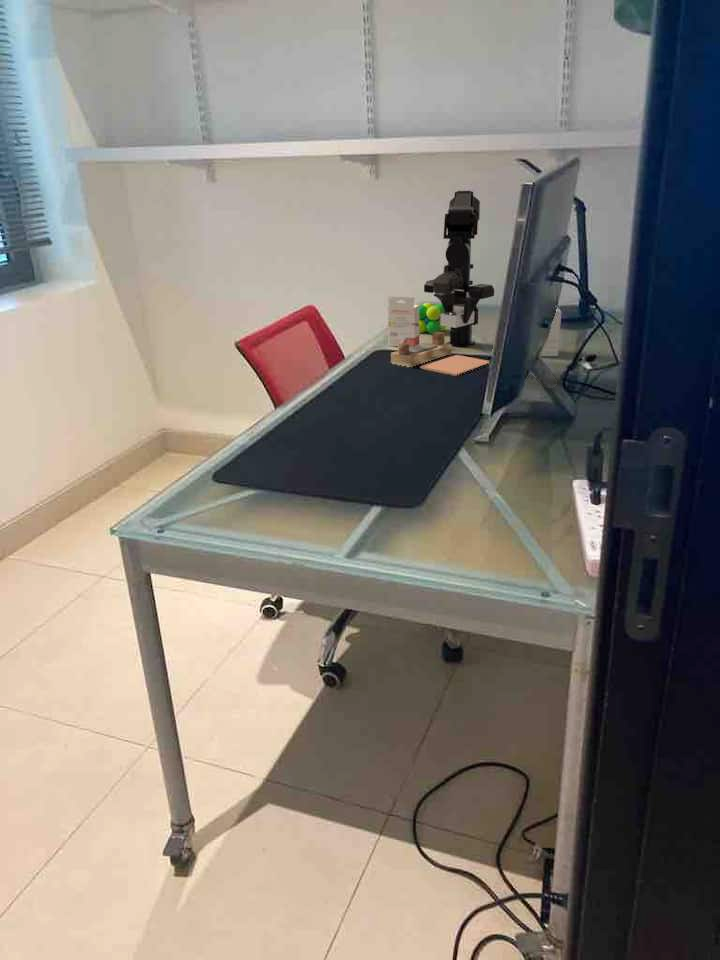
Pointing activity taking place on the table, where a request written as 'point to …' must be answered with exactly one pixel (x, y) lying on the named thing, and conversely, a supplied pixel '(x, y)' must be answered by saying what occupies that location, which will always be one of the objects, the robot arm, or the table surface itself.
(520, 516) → the table surface
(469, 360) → the rubber mat
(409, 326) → the ink cartridge box
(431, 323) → the molecule model
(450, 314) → the lever cap
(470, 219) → the robot arm
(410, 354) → the hand plane
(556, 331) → the supplement box
